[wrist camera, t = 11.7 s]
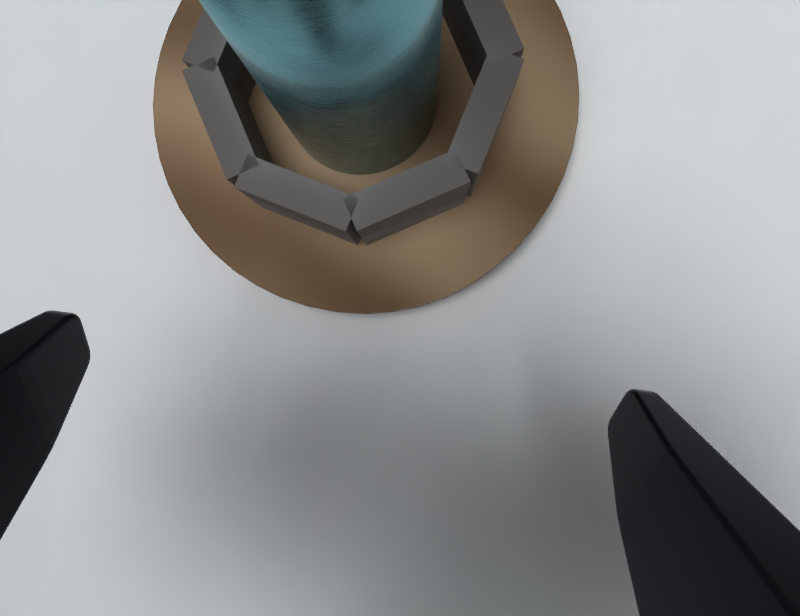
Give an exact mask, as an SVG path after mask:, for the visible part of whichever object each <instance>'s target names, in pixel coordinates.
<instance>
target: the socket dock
mask: <svg viewBox="0 0 800 616" xmlns="http://www.w3.org/2000/svg"><path fill="white" fill-rule="evenodd" d="M578 105H579V86H578V74H577V64H576V59H575V55H574V51H573V46H572V42H571V37H570V35H569V32H568V29H567V27H566V24H565V21H564V19H563V16H562V13H561V11H560V9H559V7H558V5H557V3H556V2H555V0H443V6H442V26H441V47H440V67H439V88H438V107H437V112H436V117H435V120H434V123H433V126H432V128H431V130H430V132H429V134H428V136H427V138H426V139H425V141H424V142H423V144H422V145H421V146H420V147H419V148H418V150H417V151H416V152H415V153H414V154H412V155H411V156H410V157H409V158H408V159H406V160H405V161H403V162H402V163H401V164H399V165H397V166H395V167H393V168H391V169H388V170H385V171H383V172H379V173H374V174H366V175H354V174H347V173H342V172H338V171H335V170H332V169H330V168H328V167H326V166H324V165H322V164H321V163H319V162H318V161H316V160H315V159H314V158H312V157H311V156H310V155H309V154H308V153H307V152H306V151H305V150H304V149H303V148H302V147H301V145H300V144H299V142H298V141H297V139H296V138H295V137H294V135H293V134H292V132H291V131H290V130H289V128H288V127H287V125H286V124H285V122H284V121H283V120H282V118H281V117H280V115H279V114H278V112H277V111H276V110H275V108H274V107H273V105H272V104H271V103H270V101H269V100H268V98H267V97H266V95H265V94H264V93H263V91H262V90H261V88H260V87H259V86H258V84H257V83H256V81H255V80H254V78H253V77H252V76H251V74H250V73H249V71H248V70H247V68H246V67H245V66H244V64H243V63H242V61H241V60H240V59H239V57H238V56H237V54H236V53H235V51H234V50H233V49H232V47H231V46H230V44H229V43H228V42H227V40H226V39H225V37H224V36H223V34H222V33H221V32H220V30H219V29H218V27H217V26H216V24H215V23H214V22H213V20H212V19H211V17H210V16H209V15H208V13H207V12H206V10H205V9H204V7H203V6H202V5H201V3H200V2H199V0H182V1H181V3H180V5H179V7H178V9H177V11H176V13H175V15H174V17H173V19H172V21H171V23H170V25H169V28H168V31H167V34H166V37H165V40H164V43H163V46H162V49H161V52H160V57H159V61H158V66H157V71H156V76H155V86H154V100H153V112H154V129H155V137H156V142H157V147H158V152H159V158H160V161H161V164H162V167H163V170H164V173H165V176H166V179H167V182H168V185H169V187H170V189H171V191H172V193H173V195H174V198H175V200H176V202H177V204H178V206H179V208H180V210H181V211H182V213H183V214H184V216H185V217H186V219H187V220H188V222H189V223H190V225H191V226H192V228H193V229H194V231H195V232H196V233H197V234H198V236H199V237H200V238H201V239H202V240H203V241H204V242H205V244H206V245H207V246H208V247H209V248H210V249H211V250H212V252H213V253H215V254H216V255H217V256H218V257H219V258H220V259H221V260H223V261H224V262H225V263H226V264H227V265H228V266H229V267H231V268H232V269H233V270H234V271H236V272H237V273H239V274H240V275H242V276H243V277H245V278H246V279H248V280H249V281H251V282H252V283H254V284H255V285H257V286H259V287H261V288H263V289H265V290H267V291H269V292H271V293H273V294H275V295H277V296H279V297H282V298H285V299H288V300H291V301H294V302H297V303H300V304H303V305H306V306H310V307H315V308H320V309H325V310H331V311H336V312H345V313H363V314H371V313H384V312H395V311H400V310H404V309H409V308H414V307H419V306H422V305H425V304H428V303H431V302H433V301H436V300H439V299H442V298H445V297H447V296H449V295H451V294H453V293H455V292H457V291H459V290H461V289H463V288H465V287H467V286H469V285H470V284H472V283H473V282H475V281H476V280H478V279H479V278H480V277H482V276H483V275H485V274H486V273H488V272H489V271H491V270H492V269H493V268H494V267H495V266H496V265H498V264H499V263H500V262H501V261H502V260H503V259H504V258H505V257H507V256H508V255H509V254H510V253H511V252H512V251H513V250H514V249H515V248H517V247H518V245H519V244H520V243H521V242H522V241H523V240H524V238H525V237H526V236H527V235H528V234H529V233H530V231H531V230H532V229H533V228H534V227H535V226H536V224H537V223H538V221H539V220H540V218H541V217H542V215H543V213H544V212H545V210H546V209H547V207H548V206H549V204H550V203H551V201H552V199H553V197H554V195H555V193H556V191H557V189H558V187H559V185H560V182H561V180H562V178H563V176H564V173H565V170H566V167H567V164H568V161H569V158H570V155H571V152H572V149H573V144H574V138H575V133H576V127H577V122H578Z"/></svg>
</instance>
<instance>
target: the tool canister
mask: <svg viewBox="0 0 800 616" xmlns="http://www.w3.org/2000/svg"><path fill="white" fill-rule="evenodd" d="M199 2H200V3H201V5H202V6H203V7H204V9H205V10H206V12H207V13H208V15H209V16H210V17H211V19H212V20H213V22H214V23H215V24H216V26H217V27H218V29H219V30H220V32H221V33H222V34H223V36H224V37H225V39H226V40H227V42H228V43H229V44H230V46H231V47H232V49H233V50H234V51H235V53H236V54H237V56H238V57H239V59H240V60H241V61H242V63H243V64H244V66H245V67H246V68H247V70H248V71H249V73H250V74H251V76H252V77H253V78H254V80H255V81H256V83H257V84H258V86H259V87H260V88H261V90H262V91H263V93H264V94H265V95H266V97H267V98H268V100H269V101H270V103H271V104H272V105H273V107H274V108H275V110H276V111H277V112H278V114H279V115H280V117H281V118H282V120H283V121H284V122H285V124H286V125H287V127H288V128H289V130H290V131H291V132H292V134H293V135H294V137H295V138H296V139H297V141H298V142H299V144H300V145H301V147H302V148H303V149H304V150H305V151H306V152H307V153H308V154H309V155H310V156H311V157H312V158H314V159H315V160H316V161H318V162H319V163H321V164H322V165H324V166H326V167H328V168H330V169H332V170H335V171H338V172H342V173H347V174H354V175H366V174H374V173H379V172H383V171H385V170H388V169H391V168H393V167H395V166H397V165H399V164H401V163H402V162H403V161H405V160H406V159H408V158H409V157H410V156H411V155H412V154H414V153H415V152H416V151H417V150H418V148H419V147H420V146H421V145H422V144H423V142H424V141H425V139H426V138H427V136H428V134H429V132H430V130H431V128H432V126H433V123H434V120H435V117H436V112H437V107H438V88H439V67H440V47H441V26H442V6H443V0H199Z"/></svg>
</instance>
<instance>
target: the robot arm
mask: <svg viewBox="0 0 800 616" xmlns="http://www.w3.org/2000/svg"><path fill="white" fill-rule="evenodd" d="M89 361H90V349H89V346H88V342H87V339H86V336H85V333H84V329H83V326H82V323H81V320H80V318H79V317H78V316H77V315H76V314H73V313H68V312H60V311H46V312H44V313H42V314H40V315H38V316H36V317H34V318H31V319H29V320H27V321H25V322H23V323H21V324H19V325H17V326H15V327H13V328H11V329H9V330H7V331H5V332H3V333H1V334H0V539H1V538H2V536H3V534H4V532H5V531H6V529H7V527H8V526H9V524H10V522H11V520H12V519H13V517H14V515H15V513H16V512H17V510H18V508H19V506H20V505H21V503H22V501H23V499H24V498H25V496H26V494H27V492H28V491H29V489H30V487H31V485H32V484H33V482H34V480H35V478H36V477H37V475H38V473H39V471H40V470H41V468H42V466H43V464H44V463H45V461H46V459H47V457H48V455H49V453H50V451H51V450H52V448H53V445H54V443H55V441H56V439H57V437H58V435H59V432H60V430H61V428H62V425H63V423H64V421H65V418H66V416H67V414H68V411H69V409H70V407H71V404H72V402H73V400H74V397H75V395H76V393H77V391H78V388H79V386H80V384H81V381H82V379H83V377H84V374H85V372H86V370H87V367H88V364H89ZM608 438H609V447H610V456H611V465H612V474H613V483H614V492H615V501H616V508H617V515H618V521H619V526H620V531H621V535H622V540H623V544H624V549H625V553H626V557H627V562H628V566H629V571H630V575H631V580H632V584H633V588H634V593H635V597H636V602H637V606H638V611H639V615H640V616H800V531H799V530H798V529H797V528H796V527H795V526H794V525H793V524H792V523H791V522H790V521H789V520H788V519H787V518H786V517H785V516H784V515H783V514H782V513H781V512H780V511H779V510H778V509H776V508H775V507H774V506H773V505H772V504H771V503H770V502H769V501H768V500H767V499H766V498H765V497H764V496H763V495H762V494H761V493H760V492H759V491H758V490H757V489H756V488H755V487H754V486H753V485H752V484H751V483H750V482H748V481H747V480H746V479H745V478H744V477H743V476H742V475H741V474H740V473H739V472H738V471H737V470H736V469H735V468H734V467H733V466H732V465H731V464H730V463H729V462H728V461H727V460H726V459H725V458H724V457H723V456H721V455H720V454H719V453H718V452H717V451H716V450H715V449H714V448H713V447H712V446H711V445H710V444H709V443H708V442H707V441H706V440H705V439H704V438H703V437H702V436H701V435H700V434H699V433H698V432H697V431H696V430H694V429H693V428H692V427H691V426H690V425H689V424H688V423H687V422H686V421H685V420H684V419H683V418H682V417H681V416H680V415H679V414H678V413H677V412H676V411H675V410H674V409H673V408H672V407H671V406H670V405H669V404H667V403H666V402H665V401H664V400H663V399H662V398H661V397H660V396H659V395H658V394H656V393H655V392H652V391H644V390H637V389H632V390H629V391H628V392H627V393H626V394H625V396H624V397H623V399H622V401H621V402H620V404H619V405H618V407H617V409H616V410H615V412H614V414H613V415H612V417H611V419H610V421H609V425H608Z"/></svg>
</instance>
